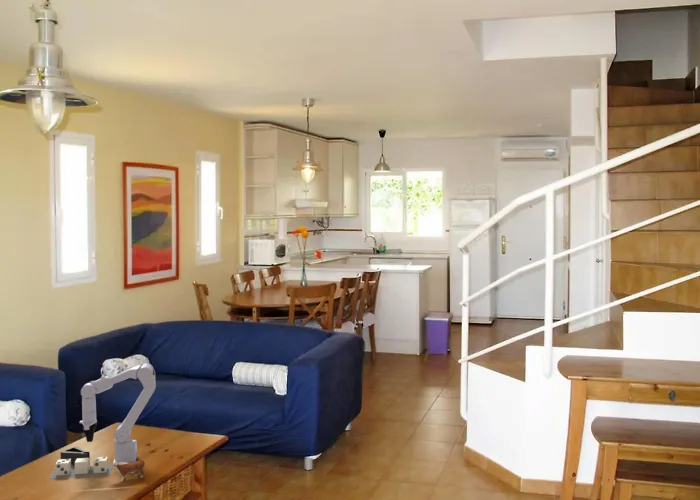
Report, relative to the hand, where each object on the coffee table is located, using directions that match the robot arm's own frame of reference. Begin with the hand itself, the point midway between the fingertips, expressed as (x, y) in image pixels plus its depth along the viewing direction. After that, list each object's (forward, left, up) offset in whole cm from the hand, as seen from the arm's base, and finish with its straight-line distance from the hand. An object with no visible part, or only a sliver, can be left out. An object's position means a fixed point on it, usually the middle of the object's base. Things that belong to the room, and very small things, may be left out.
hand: (89, 441), depth 317 cm
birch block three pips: (+8, +13, -9) cm, 18 cm away
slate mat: (+1, +13, -9) cm, 16 cm away
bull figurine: (-19, +24, -10) cm, 32 cm away
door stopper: (+10, -2, -6) cm, 12 cm away
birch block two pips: (-6, +13, -9) cm, 17 cm away
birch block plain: (+1, +13, -9) cm, 16 cm away
